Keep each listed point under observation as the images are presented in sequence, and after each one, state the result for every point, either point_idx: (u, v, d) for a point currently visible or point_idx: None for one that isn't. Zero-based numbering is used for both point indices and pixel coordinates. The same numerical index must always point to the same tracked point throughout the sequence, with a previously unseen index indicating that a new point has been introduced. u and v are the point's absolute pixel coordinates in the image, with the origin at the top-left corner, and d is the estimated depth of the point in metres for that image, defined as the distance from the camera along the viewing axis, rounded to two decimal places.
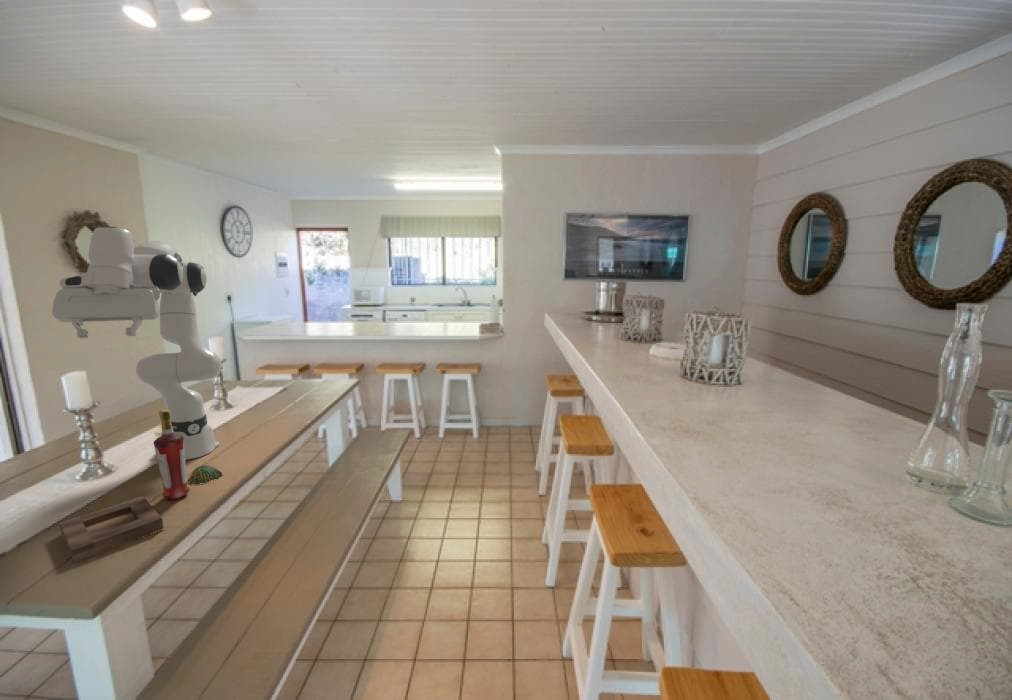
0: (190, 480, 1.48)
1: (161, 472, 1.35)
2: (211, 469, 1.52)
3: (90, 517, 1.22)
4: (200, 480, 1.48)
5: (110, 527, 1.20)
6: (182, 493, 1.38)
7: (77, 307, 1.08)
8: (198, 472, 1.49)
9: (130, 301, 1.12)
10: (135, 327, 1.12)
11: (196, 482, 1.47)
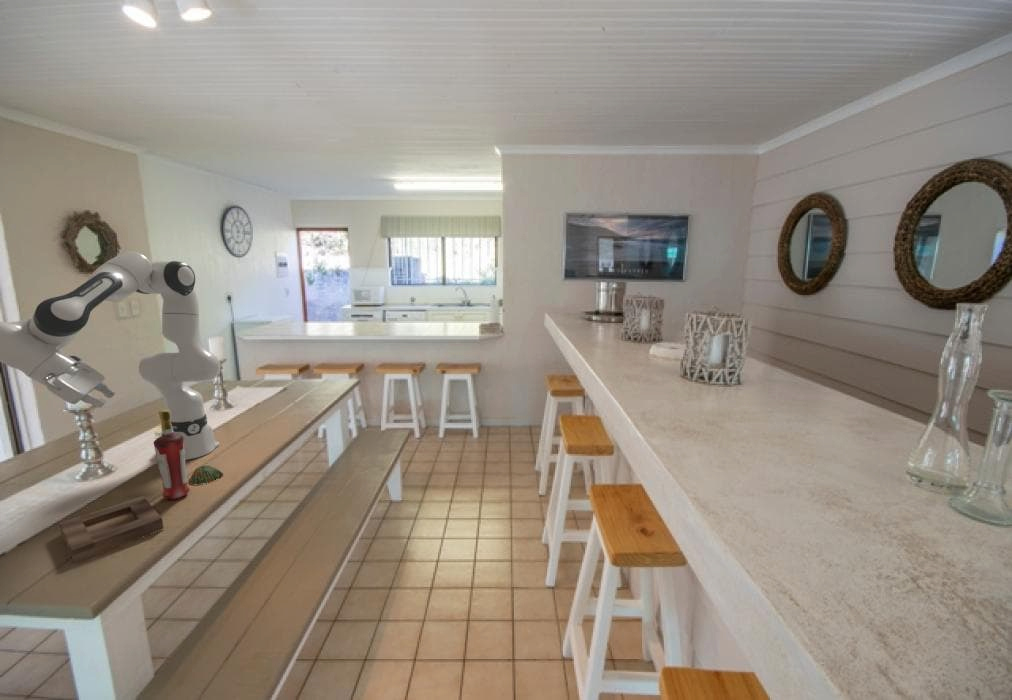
0: (191, 480, 1.48)
1: (161, 472, 1.35)
2: (212, 469, 1.52)
3: (90, 517, 1.22)
4: (201, 481, 1.48)
5: (110, 527, 1.20)
6: (182, 493, 1.38)
7: None
8: (199, 472, 1.49)
9: None
10: (94, 402, 1.22)
11: (197, 483, 1.47)
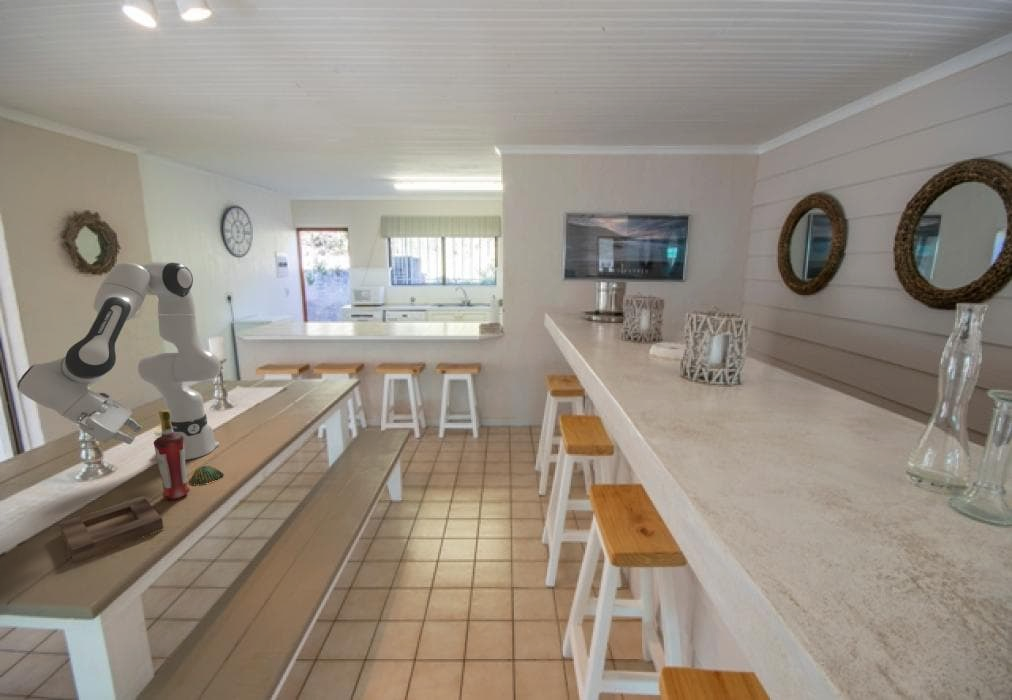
0: (191, 481, 1.48)
1: (161, 472, 1.35)
2: (212, 470, 1.51)
3: (90, 517, 1.22)
4: (201, 481, 1.47)
5: (110, 527, 1.20)
6: (182, 493, 1.38)
7: None
8: (199, 473, 1.49)
9: None
10: (124, 439, 1.26)
11: (197, 483, 1.47)
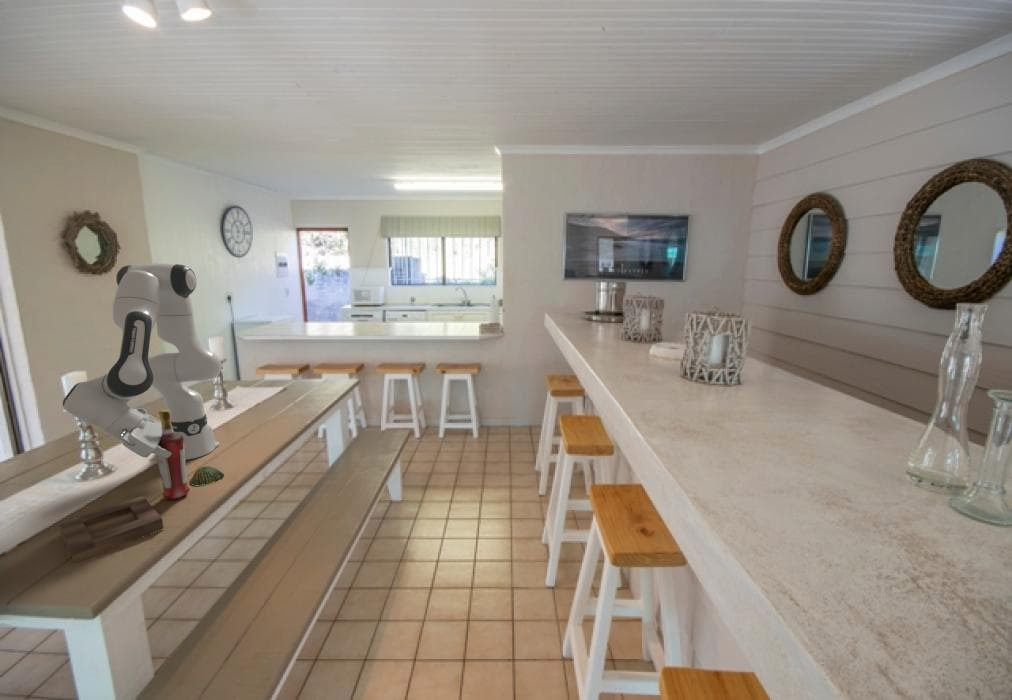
0: (192, 481, 1.48)
1: (161, 472, 1.35)
2: (213, 470, 1.51)
3: (90, 517, 1.22)
4: (202, 482, 1.47)
5: (110, 527, 1.20)
6: (182, 493, 1.38)
7: None
8: (200, 473, 1.49)
9: None
10: (162, 453, 1.32)
11: (197, 484, 1.46)
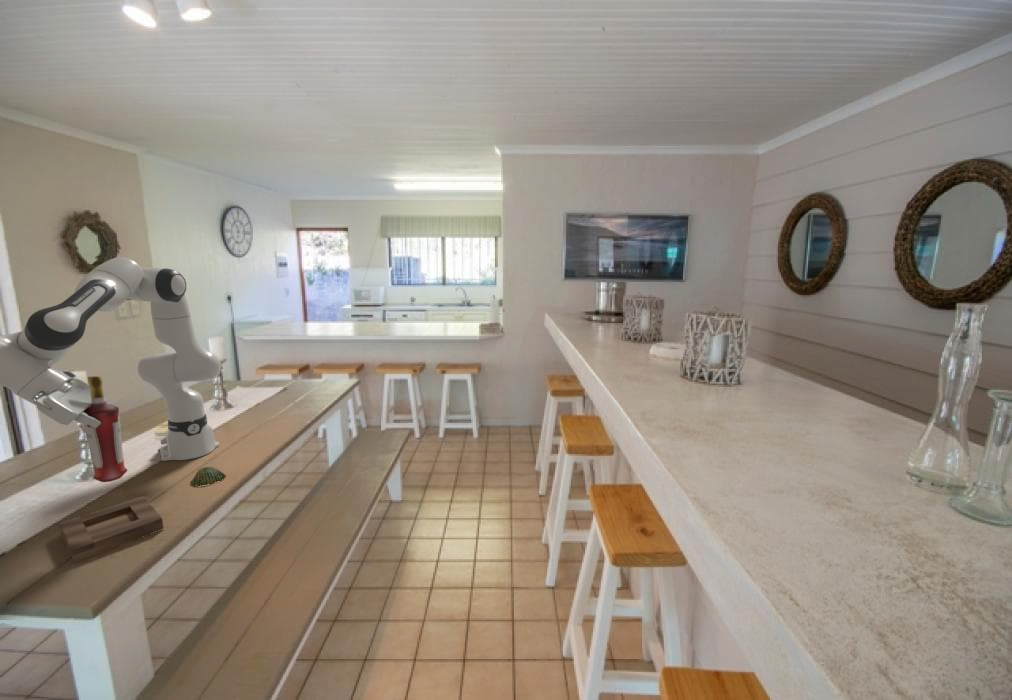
0: (193, 482, 1.47)
1: (90, 449, 1.15)
2: (214, 471, 1.51)
3: (90, 517, 1.22)
4: (203, 482, 1.47)
5: (110, 527, 1.20)
6: (117, 474, 1.18)
7: None
8: (201, 474, 1.48)
9: None
10: (89, 422, 1.12)
11: (199, 484, 1.46)
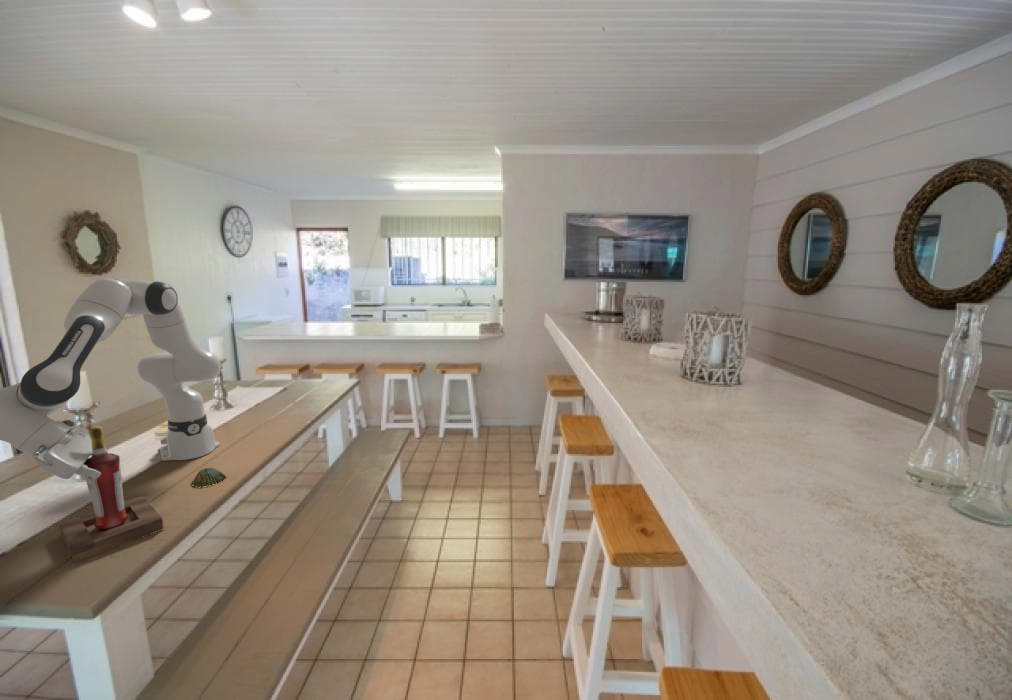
0: (193, 483, 1.47)
1: (92, 498, 1.16)
2: (215, 472, 1.50)
3: (90, 517, 1.22)
4: (203, 484, 1.46)
5: None
6: (118, 522, 1.19)
7: None
8: (202, 475, 1.48)
9: None
10: (89, 474, 1.12)
11: (199, 485, 1.45)
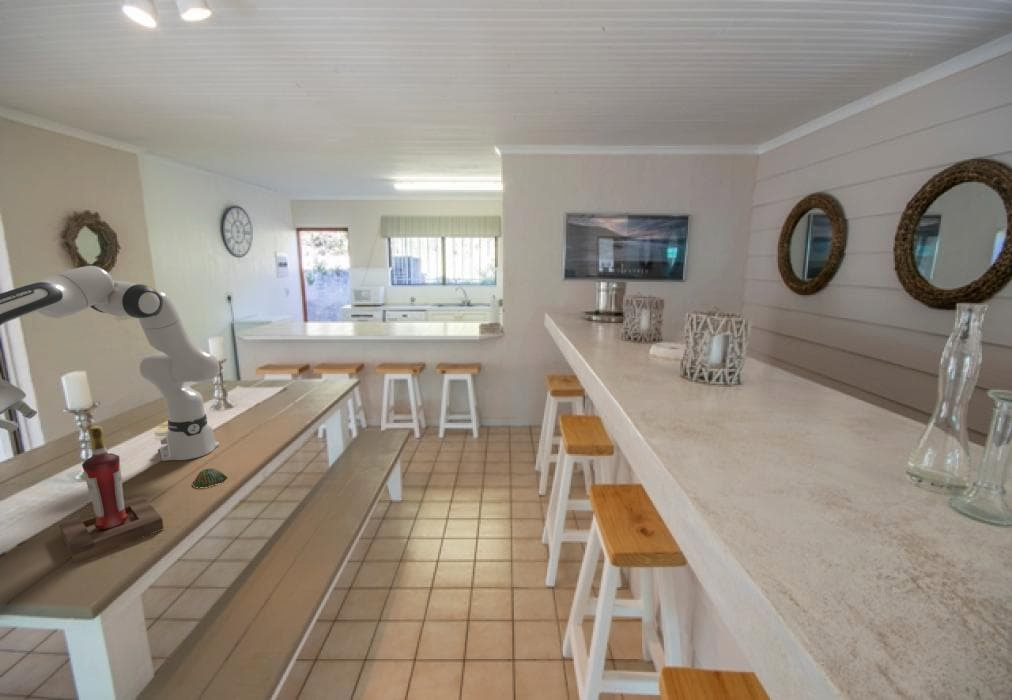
0: (194, 483, 1.46)
1: (92, 498, 1.16)
2: (216, 473, 1.49)
3: (90, 517, 1.22)
4: (204, 484, 1.45)
5: None
6: (118, 522, 1.19)
7: None
8: (202, 476, 1.47)
9: None
10: (4, 425, 1.03)
11: (200, 486, 1.45)
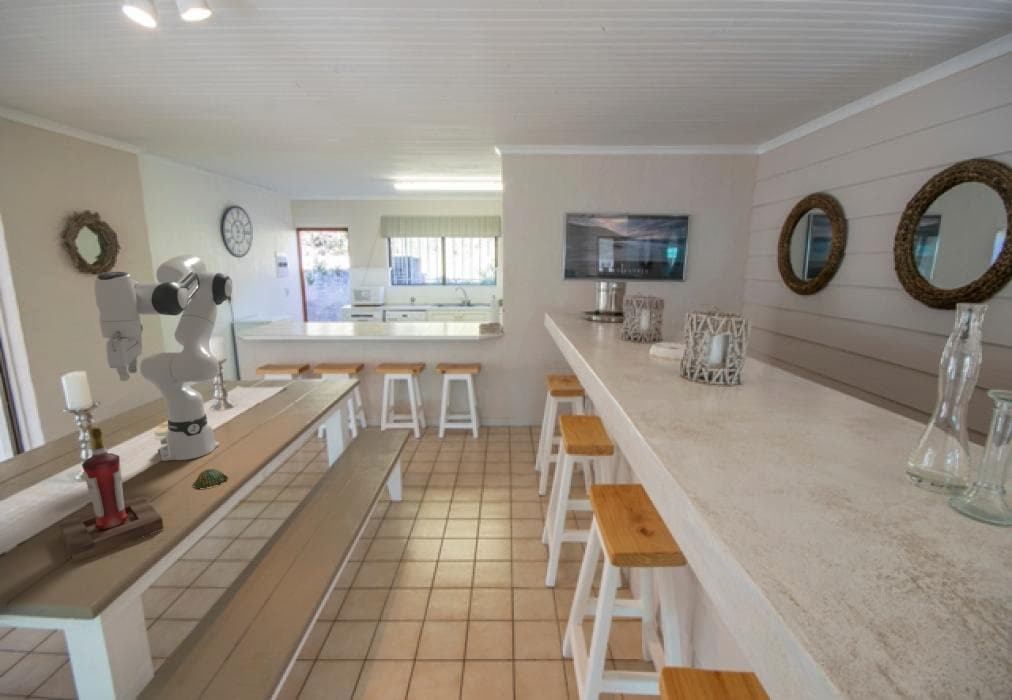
0: (195, 484, 1.46)
1: (92, 498, 1.16)
2: (217, 473, 1.49)
3: (90, 517, 1.22)
4: (205, 485, 1.45)
5: None
6: (118, 522, 1.19)
7: None
8: (203, 476, 1.47)
9: None
10: (122, 374, 1.25)
11: (201, 487, 1.45)
